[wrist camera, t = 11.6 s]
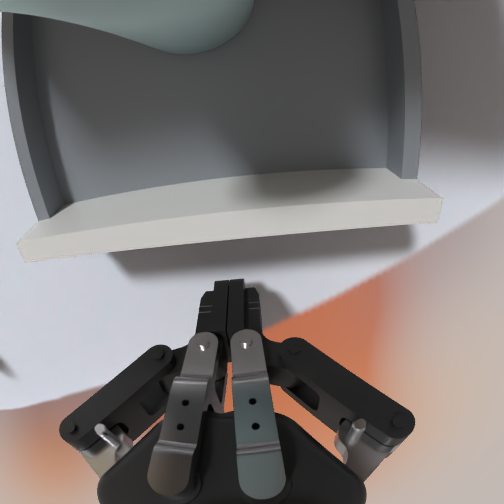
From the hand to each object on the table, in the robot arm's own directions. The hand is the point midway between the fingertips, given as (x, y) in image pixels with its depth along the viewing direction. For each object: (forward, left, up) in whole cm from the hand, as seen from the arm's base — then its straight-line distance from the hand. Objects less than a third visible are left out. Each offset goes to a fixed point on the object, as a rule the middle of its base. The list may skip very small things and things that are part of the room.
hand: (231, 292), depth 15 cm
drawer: (0, -14, -1) cm, 14 cm away
